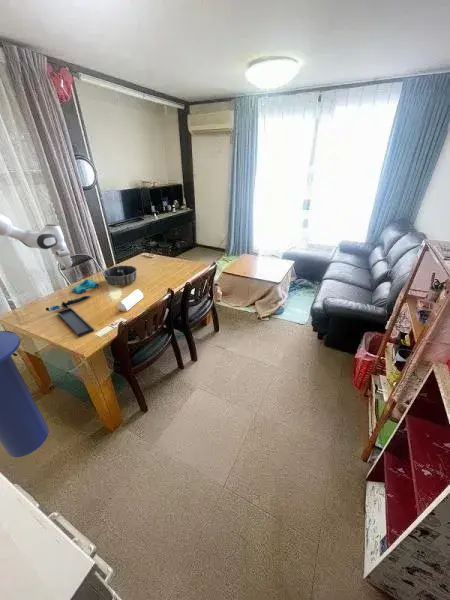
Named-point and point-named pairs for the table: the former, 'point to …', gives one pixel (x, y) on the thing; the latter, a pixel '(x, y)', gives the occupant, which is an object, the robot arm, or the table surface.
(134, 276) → the bundt pan
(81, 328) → the knife tray
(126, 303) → the white triangular prism
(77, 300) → the knife
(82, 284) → the toy car
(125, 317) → the table surface
